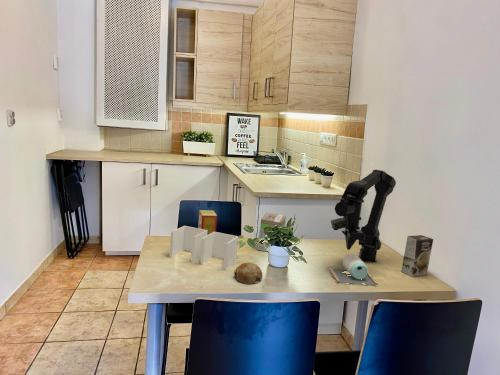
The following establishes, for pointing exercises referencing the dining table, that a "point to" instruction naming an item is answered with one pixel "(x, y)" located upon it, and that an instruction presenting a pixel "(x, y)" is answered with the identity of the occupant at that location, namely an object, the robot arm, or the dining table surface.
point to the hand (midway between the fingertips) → (348, 249)
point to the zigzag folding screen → (204, 245)
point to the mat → (344, 278)
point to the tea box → (269, 225)
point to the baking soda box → (207, 220)
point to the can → (355, 266)
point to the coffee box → (417, 255)
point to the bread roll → (248, 273)
